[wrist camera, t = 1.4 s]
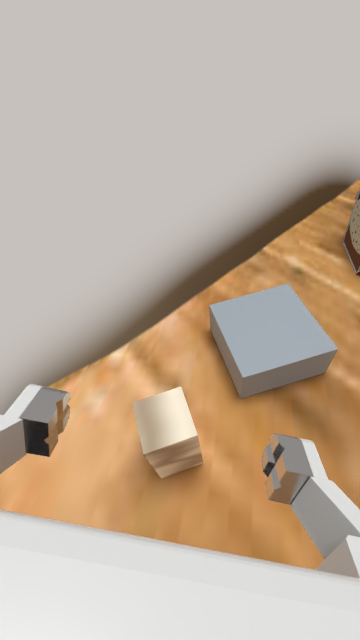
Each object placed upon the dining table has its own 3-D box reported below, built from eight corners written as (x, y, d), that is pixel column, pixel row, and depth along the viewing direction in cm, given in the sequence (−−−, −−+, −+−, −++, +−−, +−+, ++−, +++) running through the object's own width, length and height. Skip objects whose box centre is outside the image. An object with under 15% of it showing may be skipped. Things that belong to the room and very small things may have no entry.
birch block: (189, 422, 36) (180, 386, 29) (203, 463, 33) (197, 435, 26) (151, 436, 36) (132, 402, 28) (161, 478, 33) (143, 454, 25)
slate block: (281, 310, 47) (288, 283, 42) (324, 373, 39) (338, 348, 34) (210, 330, 46) (209, 305, 41) (240, 399, 38) (242, 377, 33)
